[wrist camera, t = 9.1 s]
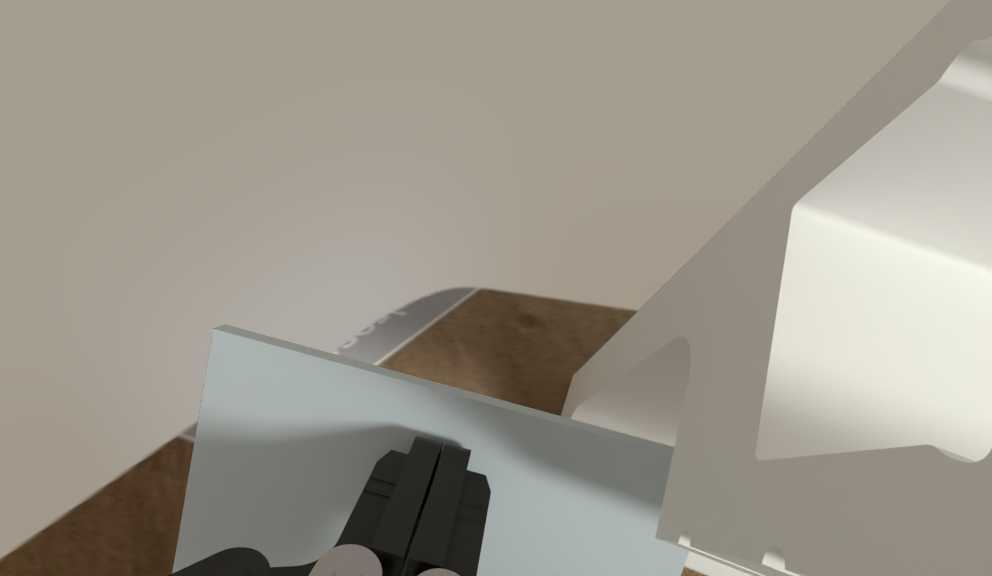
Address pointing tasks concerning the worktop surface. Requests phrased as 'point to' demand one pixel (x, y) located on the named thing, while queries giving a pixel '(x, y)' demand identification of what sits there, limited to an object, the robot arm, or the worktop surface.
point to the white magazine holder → (834, 342)
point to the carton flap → (393, 426)
